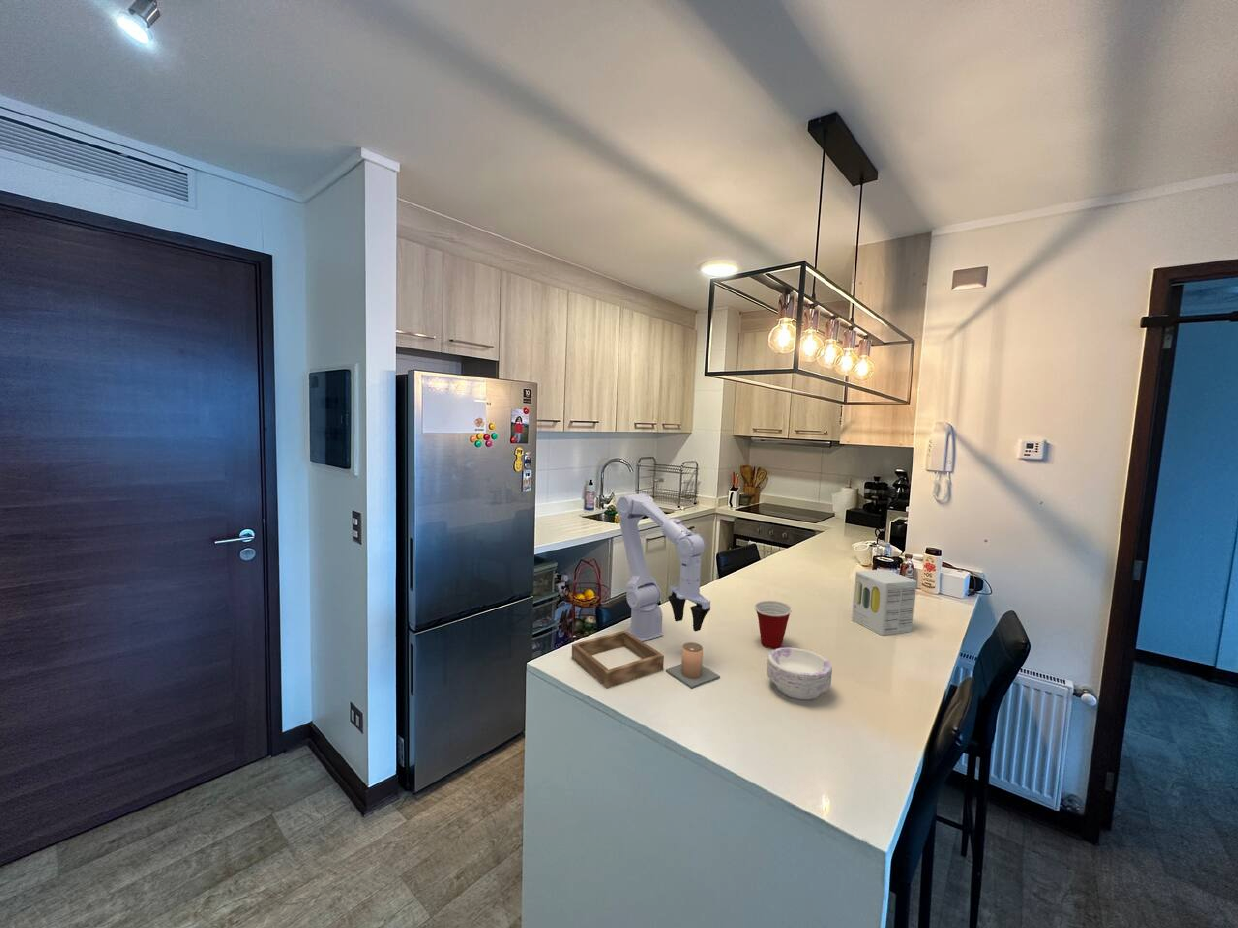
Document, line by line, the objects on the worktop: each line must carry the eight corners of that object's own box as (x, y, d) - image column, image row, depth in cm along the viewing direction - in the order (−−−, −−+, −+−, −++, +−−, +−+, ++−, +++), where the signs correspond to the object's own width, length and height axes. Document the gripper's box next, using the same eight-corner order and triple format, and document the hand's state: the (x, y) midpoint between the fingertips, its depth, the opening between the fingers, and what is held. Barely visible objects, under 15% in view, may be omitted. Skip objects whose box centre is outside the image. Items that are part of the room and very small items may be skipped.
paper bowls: (776, 668, 133) (778, 640, 132) (835, 687, 124) (838, 657, 124) (757, 692, 121) (759, 661, 120) (821, 715, 112) (824, 682, 111)
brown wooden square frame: (624, 643, 145) (625, 630, 144) (663, 669, 130) (663, 655, 130) (571, 658, 135) (571, 644, 134) (606, 688, 120) (607, 672, 120)
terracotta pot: (693, 665, 131) (695, 640, 131) (706, 675, 126) (707, 649, 126) (676, 670, 129) (678, 644, 128) (688, 680, 124) (690, 653, 123)
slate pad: (693, 661, 135) (693, 659, 135) (719, 678, 127) (720, 675, 127) (665, 671, 129) (665, 669, 129) (691, 688, 121) (691, 686, 121)
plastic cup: (745, 639, 151) (747, 601, 150) (773, 635, 154) (776, 598, 153) (767, 655, 140) (769, 615, 139) (797, 650, 144) (800, 611, 143)
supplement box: (850, 620, 169) (854, 570, 167) (880, 616, 173) (884, 568, 171) (882, 636, 156) (886, 583, 155) (913, 632, 160) (917, 580, 159)
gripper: (662, 573, 139) (660, 619, 140) (697, 588, 127) (695, 638, 128) (680, 569, 143) (678, 614, 144) (716, 583, 131) (714, 632, 132)
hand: (687, 625), depth 137 cm, fingers open, 7 cm apart
